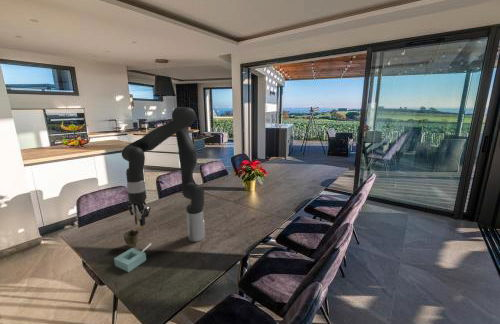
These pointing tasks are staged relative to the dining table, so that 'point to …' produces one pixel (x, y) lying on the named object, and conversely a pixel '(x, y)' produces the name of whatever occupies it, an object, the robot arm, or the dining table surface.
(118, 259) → the teal open tray
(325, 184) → the dining table surface
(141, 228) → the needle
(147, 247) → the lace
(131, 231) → the cup
